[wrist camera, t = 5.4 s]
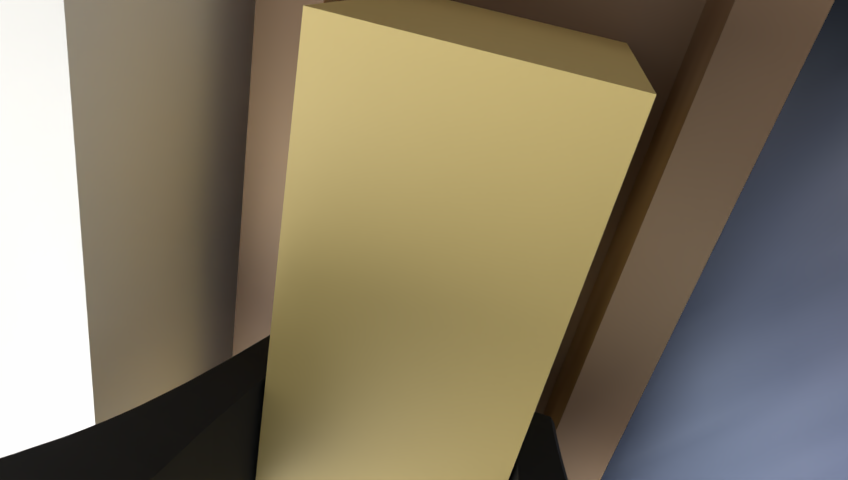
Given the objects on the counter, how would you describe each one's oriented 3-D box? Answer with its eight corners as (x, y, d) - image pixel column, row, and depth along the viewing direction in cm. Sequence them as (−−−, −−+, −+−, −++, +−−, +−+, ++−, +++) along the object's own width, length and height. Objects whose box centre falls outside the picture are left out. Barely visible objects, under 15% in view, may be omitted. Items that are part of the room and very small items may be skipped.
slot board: (499, 602, 20) (483, 720, 17) (92, 448, 22) (11, 527, 19) (837, -176, 10) (954, -245, 7) (31, -325, 12) (-165, -429, 9)
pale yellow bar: (454, 540, 17) (407, 742, 12) (324, 493, 17) (236, 670, 13) (627, 42, 11) (656, 94, 6) (416, -9, 11) (302, 5, 7)
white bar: (227, 458, 18) (109, 618, 13) (111, 415, 18) (-38, 556, 14) (261, -42, 12) (59, -52, 7) (83, -86, 12) (-208, -119, 8)
